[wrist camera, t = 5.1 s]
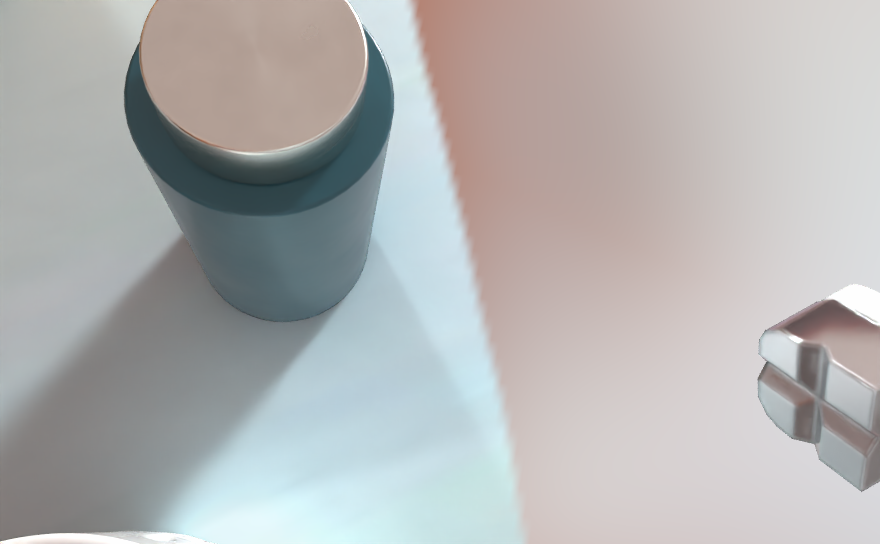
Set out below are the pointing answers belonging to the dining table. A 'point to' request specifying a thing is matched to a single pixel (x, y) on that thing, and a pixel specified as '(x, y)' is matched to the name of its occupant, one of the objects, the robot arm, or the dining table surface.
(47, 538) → the white cup
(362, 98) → the spray can
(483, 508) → the dining table surface
